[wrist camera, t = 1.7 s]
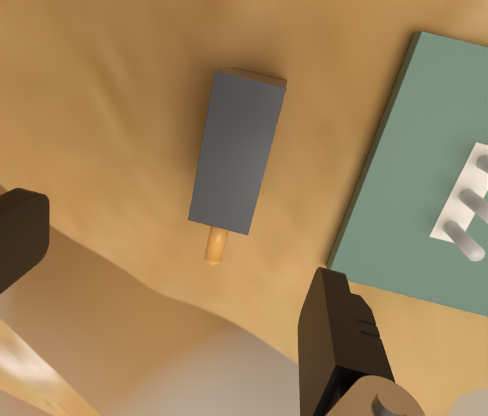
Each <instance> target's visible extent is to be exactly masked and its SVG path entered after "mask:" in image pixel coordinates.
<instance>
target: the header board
mask: <svg viewBox="0 0 488 416" xmlns="http://www.w3.org/2000/svg"><path fill="white" fill-rule="evenodd" d="M326 267H327V269H330V270H333V271H337V272H341V273H344V274H346V277H347V280H348V281H352V282H355V283H359V284H363V285H367V286H371V287H375V288H379V289H383V290H387V291H390V292H394V293H398V294H402V295H406V296H410V297H414V298H418V299H421V300H425V301H429V302H433V303H437V304H441V305H445V306H449V307H452V308H456V309H460V310H464V311H468V312H472V313H476V314H480V315H483V316H487V317H488V47H484V46H480V45H476V44H472V43H468V42H464V41H460V40H456V39H451V38H447V37H443V36H439V35H435V34H431V33H427V32H423V31H422V32H417V33H414V35H413V37H412V40H411V43H410V45H409V48H408V51H407V53H406V56H405V59H404V61H403V64H402V66H401V69H400V72H399V74H398V77H397V80H396V82H395V85H394V88H393V90H392V93H391V96H390V98H389V101H388V104H387V106H386V109H385V111H384V114H383V117H382V119H381V122H380V125H379V127H378V130H377V133H376V135H375V138H374V141H373V143H372V146H371V149H370V151H369V154H368V156H367V159H366V162H365V164H364V167H363V170H362V172H361V175H360V178H359V180H358V183H357V186H356V188H355V191H354V193H353V196H352V199H351V201H350V204H349V207H348V209H347V212H346V215H345V217H344V220H343V223H342V225H341V228H340V231H339V233H338V236H337V238H336V241H335V244H334V246H333V249H332V252H331V254H330V257H329V260H328V262H327V265H326Z"/></svg>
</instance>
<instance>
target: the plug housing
mask: <svg viewBox="0 0 488 416" xmlns="http://www.w3.org/2000/svg"><path fill="white" fill-rule="evenodd" d="M286 85H287V81H286V80H282V79H278V78H274V77H270V76H266V75H262V74H258V73H254V72H250V71H246V70H242V69H238V68H228V69H222V70H216V71H215V72H214V77H213V83H212V88H211V94H210V100H209V105H208V111H207V116H206V122H205V128H204V133H203V139H202V145H201V150H200V156H199V161H198V167H197V173H196V178H195V184H194V189H193V195H192V201H191V206H190V212H189V217H188V220H190V221H194V222H198V223H202V224H206V225H210V226H211V228H210V233H209V238H208V242H207V247H206V252H205V261H206V263H207V264H208V265H210V266H216V265H218V264H219V263H220V262H221V260H222V256H223V252H224V248H225V243H226V239H227V235H228V231H233V232H237V233H241V234H245V235H248V233H249V229H250V225H251V221H252V217H253V214H254V210H255V206H256V202H257V198H258V194H259V191H260V187H261V183H262V179H263V175H264V171H265V168H266V164H267V160H268V156H269V152H270V148H271V144H272V141H273V137H274V133H275V129H276V125H277V121H278V118H279V114H280V110H281V106H282V102H283V98H284V95H285V91H286Z"/></svg>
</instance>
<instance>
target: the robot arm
mask: <svg viewBox="0 0 488 416" xmlns="http://www.w3.org/2000/svg"><path fill="white" fill-rule="evenodd" d="M48 246H49V199H48V197H47V196H46V195H44V194H41V193H37V192H33V191H29V190H25V189H22V188H15V189H13V190H11V191H9V192H7V193H4V194H2V195H1V196H0V294H1V293H2V292H3V291H5V290H6V289H7V288H8V287H10V286H11V285H12V284H13V283H14V282H16V281H17V280H18V279H19V278H21V277H22V276H23V275H24V274H25V273H27V272H28V271H29V270H31V269H32V268H33V267H34V266H35V265H37V264H38V263H39V262H40V261H41V260H42V259H43V257H44V255H45V254H46V252H47V249H48ZM298 355H299V388H300V416H425V414H424V412H423V410H422V409H421V407H420V405H419V404H418V403H417V401H416V400H415V399H414V398H413V397H412V396H411V395H410V394H409V393H408V392H407V391H406V390H405V389H403V388H402V387H401V386H399V385H398V384H396V383H395V380H394V377H393V374H392V371H391V368H390V365H389V362H388V359H387V356H386V353H385V350H384V346H383V343H382V340H381V339H380V334H379V331H378V328H377V327H376V322H375V319H374V316H373V313H372V310H371V308H370V307H369V306H368V305H367V303H366V302H365V301H364V300H363V299H362V297H361V296H360V295H356V294H352V293H351V292H350V289H349V285H348V281H347V277H346V274H344V273H341V272H337V271H333V270H330V269H326V268H322V267H318V269H317V270H316V272H315V275H314V277H313V280H312V283H311V285H310V288H309V291H308V294H307V296H306V299H305V302H304V304H303V307H302V310H301V313H300V318H299V323H298Z"/></svg>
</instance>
